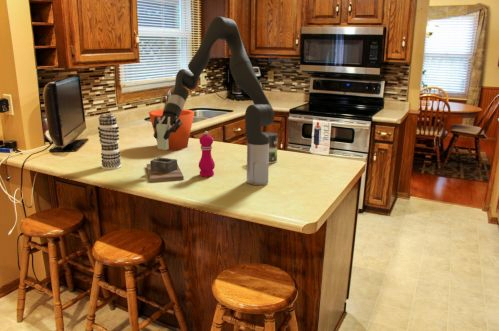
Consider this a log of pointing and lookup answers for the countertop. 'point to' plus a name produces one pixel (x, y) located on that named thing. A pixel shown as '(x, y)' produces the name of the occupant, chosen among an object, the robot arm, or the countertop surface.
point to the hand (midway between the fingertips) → (160, 138)
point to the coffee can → (272, 146)
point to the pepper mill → (206, 156)
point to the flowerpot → (182, 134)
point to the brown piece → (164, 170)
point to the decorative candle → (109, 141)
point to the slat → (160, 134)
